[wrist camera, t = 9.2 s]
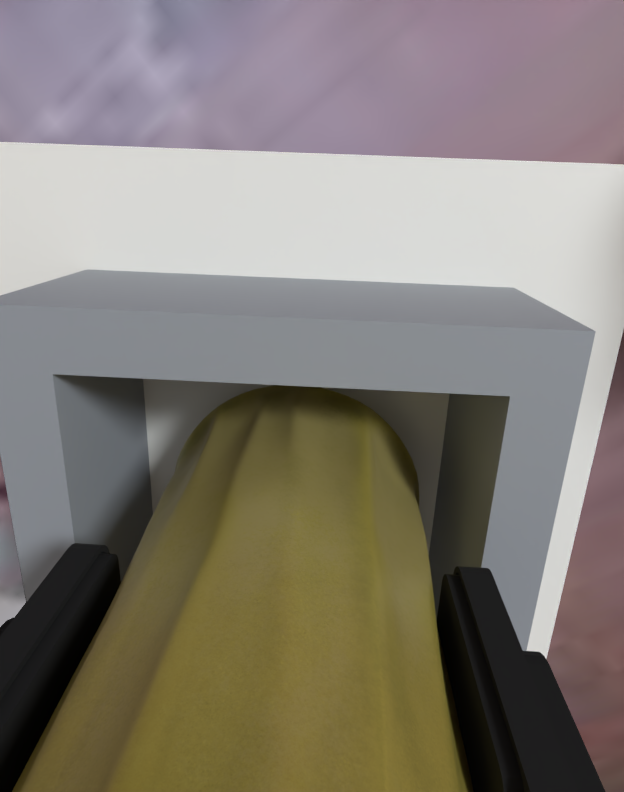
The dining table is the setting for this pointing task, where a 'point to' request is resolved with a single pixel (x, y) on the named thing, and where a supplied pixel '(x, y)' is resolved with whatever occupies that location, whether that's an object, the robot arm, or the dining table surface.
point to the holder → (310, 335)
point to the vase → (269, 622)
